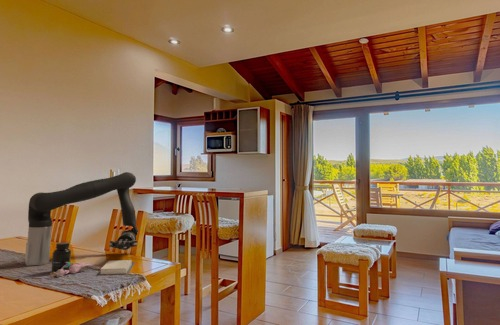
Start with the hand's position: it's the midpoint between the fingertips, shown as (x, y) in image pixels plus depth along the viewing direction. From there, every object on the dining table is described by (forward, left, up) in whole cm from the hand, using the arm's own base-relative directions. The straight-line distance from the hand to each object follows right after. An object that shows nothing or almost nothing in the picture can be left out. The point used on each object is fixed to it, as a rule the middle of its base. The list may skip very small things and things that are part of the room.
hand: (120, 247), depth 143 cm
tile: (+1, +2, -8) cm, 8 cm away
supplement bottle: (-21, +9, -10) cm, 25 cm away
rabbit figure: (-19, +2, -10) cm, 22 cm away
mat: (-1, -2, -10) cm, 10 cm away
